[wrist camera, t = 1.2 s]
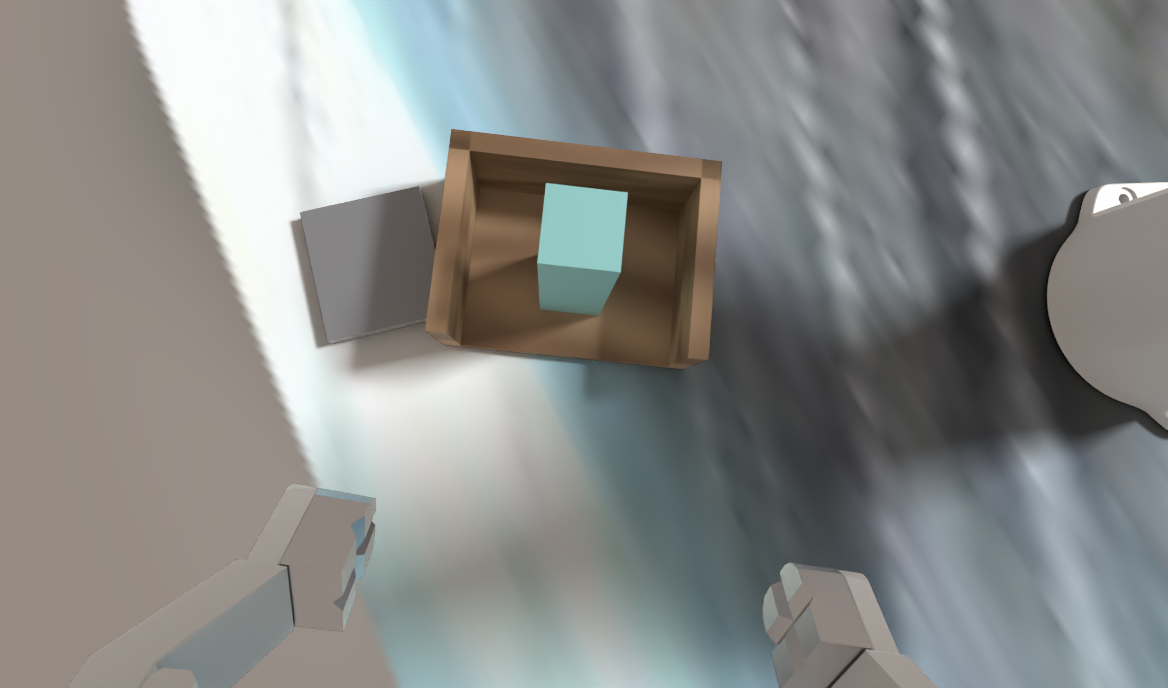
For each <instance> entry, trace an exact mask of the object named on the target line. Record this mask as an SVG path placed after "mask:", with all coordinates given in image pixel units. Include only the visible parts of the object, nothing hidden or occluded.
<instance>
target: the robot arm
mask: <svg viewBox="0 0 1168 688" xmlns="http://www.w3.org/2000/svg"><path fill="white" fill-rule="evenodd" d="M1119 201H1120V202H1119ZM1047 306H1048V313H1049V319H1050V323H1051V326H1052V330H1053V332H1054V335H1055V338H1056V340H1057V342H1058V344H1059V346H1060V348H1061V350H1062V352H1063V353H1064V355H1065V357H1066V358H1067V360H1068V361H1069V362H1070V364H1071V365H1072V366H1073V368H1074V369H1075V370H1076V371H1077V372H1078V373H1079V374H1080V375H1081V376H1082V377H1083V378H1084V379H1085V380H1086V381H1087V382H1088V383H1090V384H1091V385H1092V386H1093V387H1095V388H1096V389H1098V390H1099V391H1101V392H1102V393H1104V394H1106V395H1107V396H1109V397H1111V398H1113V399H1116V400H1118V401H1121V402H1124V403H1126V404H1129V405H1132V406H1135V407H1137V408H1140V409H1142V410H1143V411H1145V412H1147V413H1148V414H1149V415H1150V416H1151V417H1152V418H1153V419H1154V420H1156V421H1157V422H1158V423H1159V424H1160V425H1161V426H1163V427H1164V428H1165V429H1167V430H1168V182H1157V183H1126V184H1107V185H1103V186H1099V187H1096V188H1093V189H1091V190H1089V191H1088V192H1087V194H1086V195H1085V197H1084V200H1083V203H1082V206H1081V211H1080V215H1079V220H1078V224H1077V226H1076V228H1075V229H1074V231H1073V232H1072V234H1071V235H1070V236H1069V237H1068V239H1067V240H1066V241H1065V243H1064V244H1063V245H1062V247H1061V248H1060V250H1059V252H1058V253H1057V255H1056V257H1055V260H1054V262H1053V265H1052V267H1051V271H1050V275H1049V280H1048V287H1047ZM375 511H376V498H371V497H366V496H360V495H355V494H349V493H344V492H338V491H333V490H327V489H322V488H316V487H309V486H304V485H298V484H291V485H290V486H289V487H288V488H287V489H286V490H285V491H284V493H283V495H282V496H281V498H280V500H279V502H278V503H277V505H276V507H275V508H274V510H273V512H272V514H271V516H270V517H269V519H268V521H267V523H266V524H265V526H264V528H263V530H262V531H261V533H260V535H259V537H258V538H257V540H256V542H255V544H254V545H253V547H252V549H251V551H250V552H249V554H248V556H247V558H246V559H245V560H240V559H236V560H235V561H233V562H231V563H230V564H228V565H227V566H226V567H224V568H222V569H221V570H219V571H218V572H216V573H215V574H213V575H211V576H210V577H208V578H207V579H205V580H204V581H202V582H201V583H199V584H198V585H196V586H195V587H193V588H192V589H190V590H189V591H187V592H186V593H184V594H183V595H181V596H179V597H178V598H176V599H175V600H173V601H172V602H170V603H169V604H167V605H166V606H164V607H163V608H161V609H160V610H158V611H156V612H155V613H153V614H152V615H150V616H149V617H148V618H146V619H144V620H143V621H141V622H140V623H138V624H137V625H135V626H134V627H132V628H131V629H129V630H127V631H126V632H124V633H123V634H121V635H120V636H118V637H117V638H115V639H114V640H112V641H111V642H109V643H108V644H106V645H105V646H103V647H102V648H100V649H98V650H97V651H95V652H94V653H93V654H91V655H90V656H89V657H88V659H87V660H86V661H85V663H84V664H83V665H82V667H81V668H80V670H79V671H78V672H77V674H76V675H75V677H74V678H73V679H72V681H71V682H70V684H69V685H68V687H67V688H231V687H232V686H233V685H234V684H236V683H237V682H238V681H239V680H240V679H241V678H242V677H243V676H244V675H245V674H246V673H248V672H249V671H250V670H251V669H252V668H253V667H254V666H255V665H256V664H257V663H258V662H259V661H260V660H262V659H263V658H264V657H265V656H266V655H267V654H268V653H269V652H270V651H271V650H273V649H274V648H275V647H276V646H277V645H278V644H279V643H280V642H281V641H282V640H283V639H285V637H287V636H288V635H289V634H290V633H291V632H292V631H293V630H294V627H303V628H312V629H322V630H331V631H341V632H343V631H344V628H345V626H346V622H347V620H348V617H349V615H350V612H351V609H352V607H353V604H354V601H355V599H356V581H357V580H358V579H360V578H361V577H362V576H364V574H365V571H366V568H367V566H368V563H369V560H370V556H371V552H372V548H373V544H374V537H375V524H374V523H373V522H372V519H373V516H374V513H375ZM780 576H781V579H782V580H781V581H779V582H777V583H775V584H773V585H771V586H770V588H769V589H768V591H767V593H766V594H765V597H764V603H763V622H764V626H765V631H766V633H767V635H768V636H769V637H770V638H771V639H772V641H773V642H774V643H775V644H776V646H775V648H774V651H773V653H772V655H771V656H772V660H773V664H774V668H775V672H776V676H777V680H778V684H779V688H938V687H937V686H936V685H935V684H934V683H933V682H932V681H931V680H930V679H929V678H928V677H927V676H926V675H925V674H924V673H923V672H922V671H921V670H920V669H919V668H918V667H917V665H916V664H915V663H914V662H913V661H912V660H911V659H910V658H909V657H908V656H907V655H903V654H899V652H898V650H897V647H896V645H895V642H894V640H893V638H892V635H891V633H890V631H889V628H888V626H887V624H886V621H885V619H884V617H883V614H882V612H881V609H880V607H879V605H878V602H877V600H876V598H875V595H874V593H873V591H872V588H871V586H870V584H869V581H868V579H867V578H866V577H865V576H864V575H863V574H861V573H856V572H849V571H842V570H836V569H834V568H827V567H820V566H813V565H806V564H798V563H788V564H786V565H784V567H783V568H782V570H781V571H780Z"/></svg>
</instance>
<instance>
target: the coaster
mask: <svg viewBox="0 0 1168 688" xmlns="http://www.w3.org/2000/svg"><path fill="white" fill-rule="evenodd" d="M300 215H301V219H302V224H303V229H304V234H305V238H306V243H307V248H308V252H309V257H310V262H311V266H312V271H313V276H314V281H315V285H316V290H317V295H318V299H319V304H320V309H321V313H322V318H323V323H324V328H325V332H326V337H327V342H329V343H332V344H334V343H338V342H342V341H347V340H351V339H355V338H359V337H363V336H367V335H372V334H376V333H380V332H384V331H388V330H392V329H397V328H401V327H405V326H409V325H413V324H417V323H422V322H426V318H427V311H428V303H429V296H430V288H431V281H432V273H433V265H434V258H435V246H434V242H433V237H432V233H431V229H430V225H429V220H428V216H427V212H426V208H425V204H424V199H423V195H422V192H421V190H420V188H419V186H418V187H414V188H409V189H404V190H400V191H395V192H391V193H386V194H382V195H377V196H372V197H368V198H363V199H359V200H354V201H350V202H345V203H340V204H336V205H331V206H327V207H322V208H318V209H313V210H308V211H304V212H300Z"/></svg>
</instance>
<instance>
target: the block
mask: <svg viewBox="0 0 1168 688" xmlns="http://www.w3.org/2000/svg"><path fill="white" fill-rule="evenodd" d="M627 197H628V192H619V191H610V190H602V189H593V188H585V187H576V186H568V185H559V184H550V183H546V188H545V197H544V206H543V215H542V224H541V234H540V243H539V252H538V261H537V267H538V285H539V303H540V310H549V311H559V312H568V313H578V314H587V315H597V316H599V314H600V312H601V310H602V308H603V306H604V304H605V302H606V300H607V298H608V296H609V294H610V292H611V290H612V288H613V287H614V285H615V283H616V281H617V279H618V277H619V275H620V273H621V264H622V253H623V241H624V230H625V219H626V208H627Z"/></svg>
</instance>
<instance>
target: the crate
mask: <svg viewBox="0 0 1168 688" xmlns="http://www.w3.org/2000/svg"><path fill="white" fill-rule="evenodd" d="M721 170H722V161H713V160H705V159H697V158H688V157H680V156H672V155H664V154H655V153H647V152H639V151H630V150H622V149H614V148H605V147H597V146H589V145H580V144H572V143H564V142H555V141H547V140H539V139H530V138H522V137H514V136H505V135H497V134H489V133H480V132H472V131H464V130H455V129H452V130H451V137H450V145H449V152H448V160H447V167H446V175H445V182H444V190H443V198H442V205H441V213H440V220H439V228H438V235H437V243H436V250H435V258H434V265H433V273H432V281H431V288H430V296H429V303H428V311H427V318H426V326H425V331H426V332H427V333H429V334H430V335H431V336H433V337H434V338H436V339H437V340H438V341H440V342H441V343H442V344H444V345H450V346H460V347H470V348H480V349H489V350H499V351H509V352H519V353H529V354H539V355H548V356H558V357H568V358H578V359H588V360H598V361H607V362H617V363H627V364H637V365H647V366H657V367H666V368H676V369H685V368H688V367H690V366H693V365H696V364H699V363H701V362H704V361H707V360H709V346H710V332H711V317H712V302H713V287H714V273H715V258H716V243H717V229H718V214H719V199H720V184H721ZM546 183H550V184H559V185H568V186H576V187H585V188H593V189H602V190H610V191H619V192H628V197H627V208H626V219H625V230H624V241H623V253H622V264H621V273H620V275H619V277H618V279H617V281H616V283H615V285H614V287H613V288H612V290H611V292H610V294H609V296H608V298H607V300H606V302H605V304H604V306H603V308H602V310H601V312H600V314H599V316H597V315H587V314H578V313H568V312H559V311H549V310H540V303H539V285H538V267H537V261H538V252H539V243H540V234H541V224H542V215H543V206H544V197H545V188H546Z"/></svg>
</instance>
